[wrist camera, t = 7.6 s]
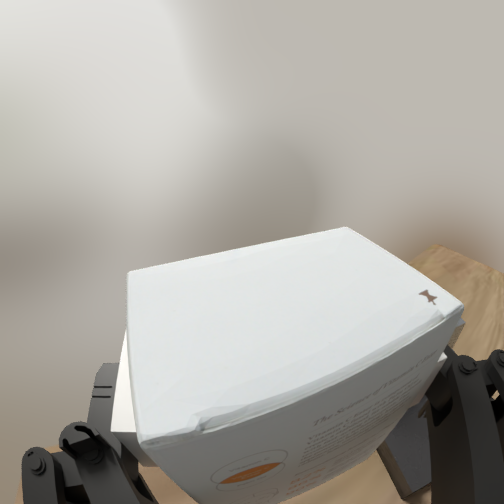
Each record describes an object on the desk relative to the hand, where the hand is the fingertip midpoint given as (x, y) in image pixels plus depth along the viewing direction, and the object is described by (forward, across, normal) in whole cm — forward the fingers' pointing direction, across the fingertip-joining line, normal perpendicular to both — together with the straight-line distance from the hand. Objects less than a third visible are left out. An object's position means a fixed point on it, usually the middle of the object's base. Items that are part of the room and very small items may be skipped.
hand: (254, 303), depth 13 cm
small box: (-5, 0, -7) cm, 8 cm away
